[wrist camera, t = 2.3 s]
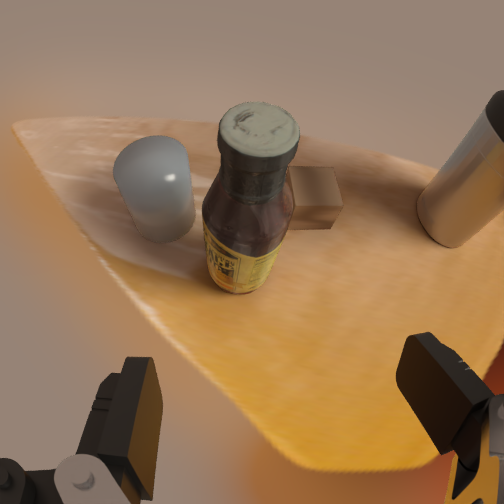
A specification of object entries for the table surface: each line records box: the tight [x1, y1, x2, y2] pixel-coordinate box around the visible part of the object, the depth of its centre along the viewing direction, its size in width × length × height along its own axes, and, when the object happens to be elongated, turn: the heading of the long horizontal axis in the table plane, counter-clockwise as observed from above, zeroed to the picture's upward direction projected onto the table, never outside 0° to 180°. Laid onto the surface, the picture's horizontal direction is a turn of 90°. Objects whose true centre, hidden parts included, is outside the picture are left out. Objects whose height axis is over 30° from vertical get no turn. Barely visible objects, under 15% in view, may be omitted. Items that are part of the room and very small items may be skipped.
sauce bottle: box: [202, 102, 300, 294], centre depth 24 cm, size 7×6×20 cm
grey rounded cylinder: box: [113, 136, 196, 243], centre depth 31 cm, size 7×7×9 cm
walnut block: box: [286, 166, 343, 230], centre depth 34 cm, size 5×5×5 cm
